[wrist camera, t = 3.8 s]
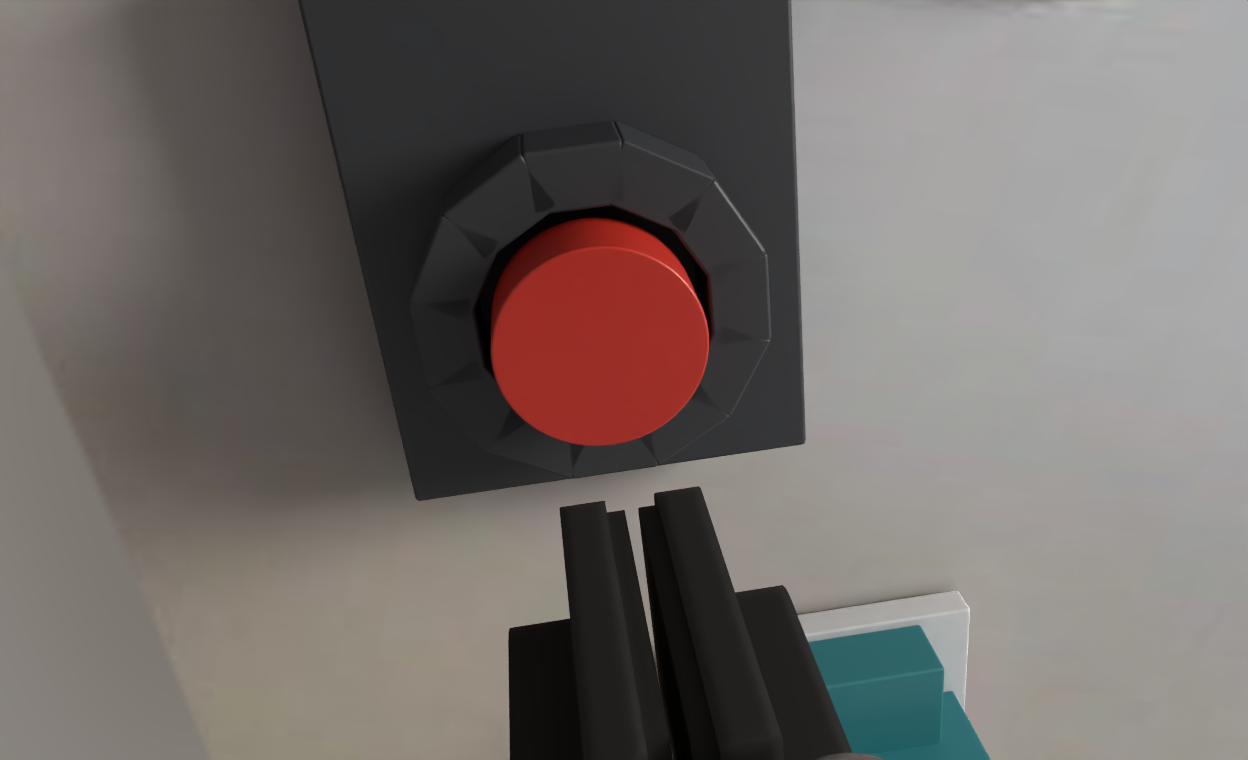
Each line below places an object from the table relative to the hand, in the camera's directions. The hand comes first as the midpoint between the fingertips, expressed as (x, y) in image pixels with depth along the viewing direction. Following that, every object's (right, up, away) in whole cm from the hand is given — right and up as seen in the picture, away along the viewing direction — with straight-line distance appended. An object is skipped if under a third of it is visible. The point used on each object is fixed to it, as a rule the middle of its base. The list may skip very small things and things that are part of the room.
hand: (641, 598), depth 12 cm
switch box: (-1, +7, +11) cm, 13 cm away
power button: (-1, +4, +8) cm, 9 cm away
